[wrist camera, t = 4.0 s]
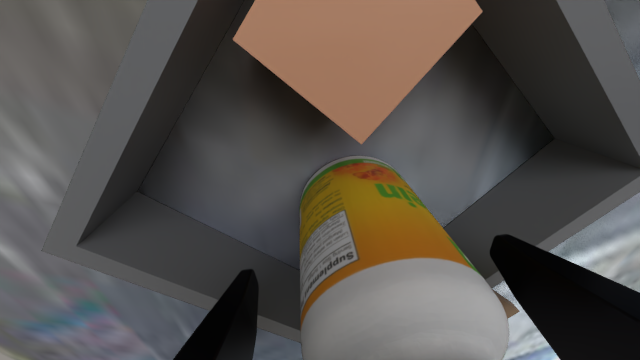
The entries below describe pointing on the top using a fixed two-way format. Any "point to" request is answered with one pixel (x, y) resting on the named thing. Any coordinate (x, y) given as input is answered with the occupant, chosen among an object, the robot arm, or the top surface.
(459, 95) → the top surface
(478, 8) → the terracotta cube
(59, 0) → the top surface
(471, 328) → the supplement bottle
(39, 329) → the top surface
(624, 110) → the bin rim
